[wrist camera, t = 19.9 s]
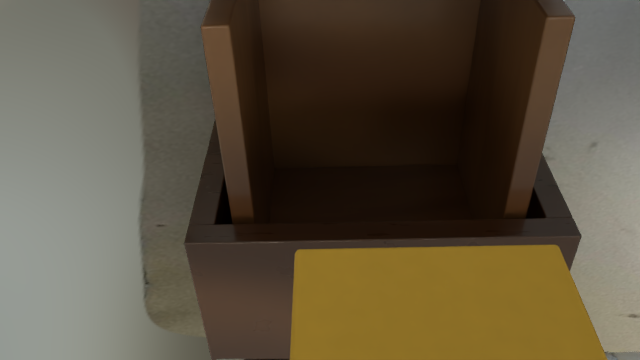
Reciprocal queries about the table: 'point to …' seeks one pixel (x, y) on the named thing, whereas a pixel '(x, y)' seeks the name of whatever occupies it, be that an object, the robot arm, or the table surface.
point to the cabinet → (286, 238)
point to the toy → (439, 305)
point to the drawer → (382, 106)
